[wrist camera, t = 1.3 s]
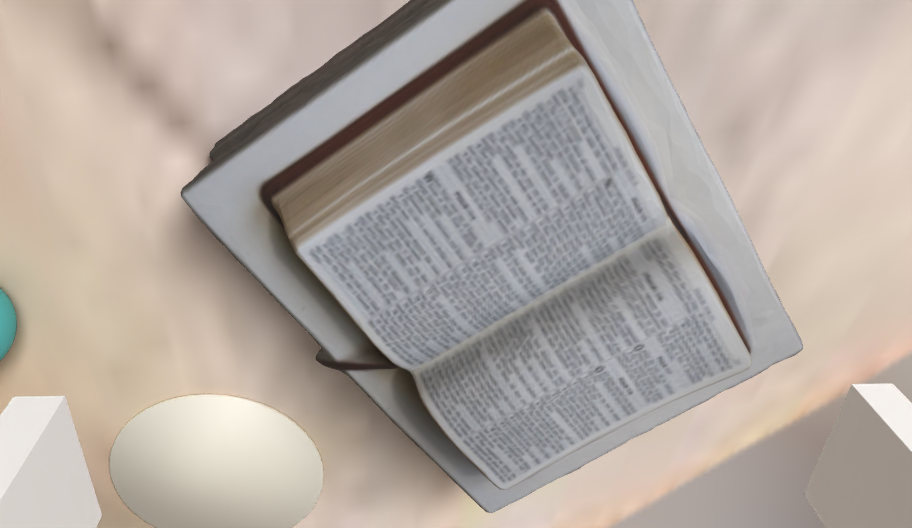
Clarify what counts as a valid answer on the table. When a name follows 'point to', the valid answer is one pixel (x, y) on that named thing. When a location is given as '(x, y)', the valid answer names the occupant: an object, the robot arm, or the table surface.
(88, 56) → the table surface
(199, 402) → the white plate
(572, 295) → the bible
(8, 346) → the ball
